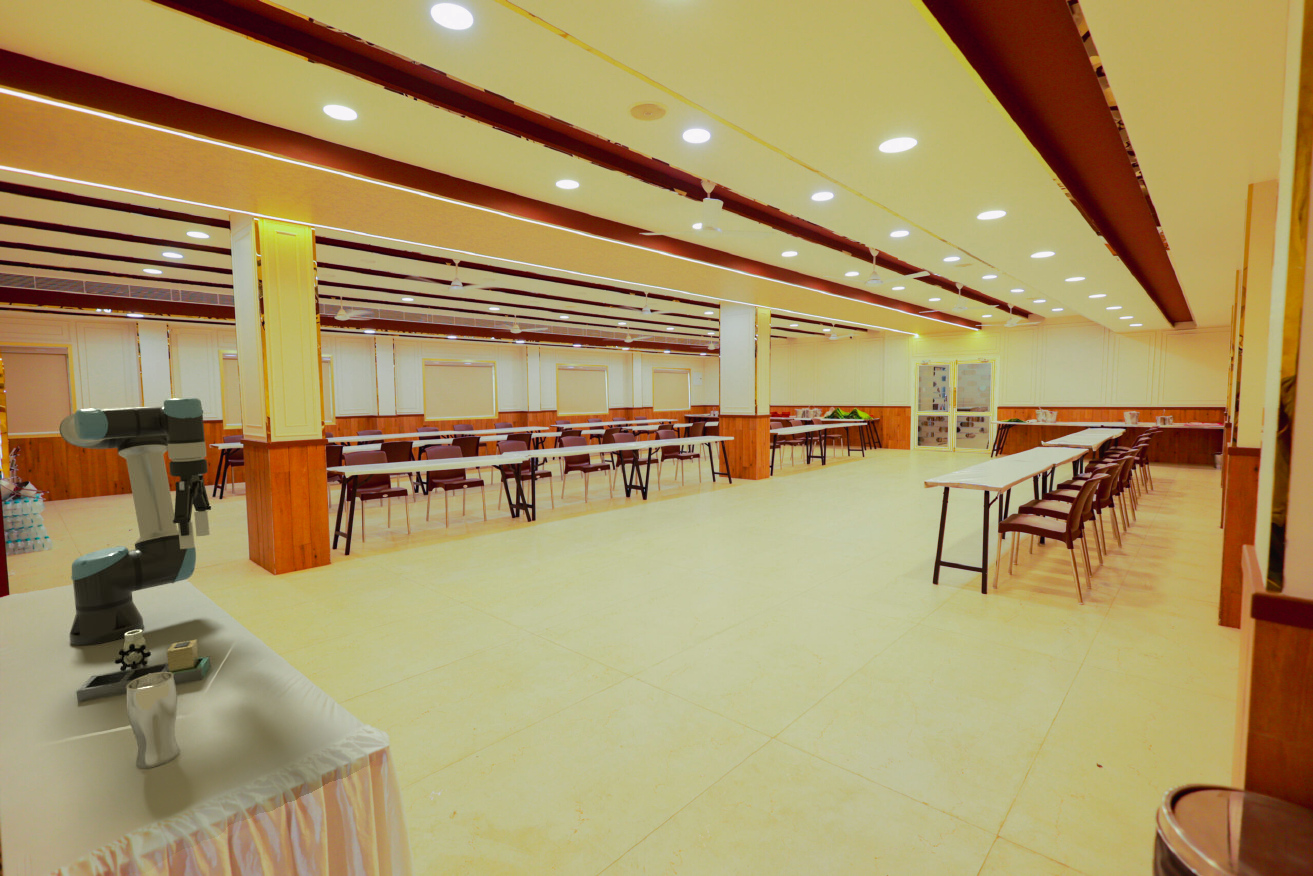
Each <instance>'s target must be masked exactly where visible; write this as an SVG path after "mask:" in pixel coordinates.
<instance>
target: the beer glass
mask: <svg viewBox="0 0 1313 876" xmlns="http://www.w3.org/2000/svg"><path fill="white" fill-rule="evenodd" d="M126 688H127V694H126V711H127V717H128V721H129V724H130V727H131V729H132V732H133V735H134V738H135V741H136V745H137V755H136V761H135V762H136V763H135V765H136V767H137V768H139V769H142V770H143V769H145V770H146V769H152V768H155V767H160V766H162V765H164V764H167V763H168V762H170V761H172V760H173V759H175V758H176V757H177V756H179V754H180V747H179V745H178V742H177V740H176V720H177V713H178V692H177V685H175V681H174V675H173V673H171V672H157V673H152V674H148V675H145V676H142V677H139V678H137V679H135V680H133V681H131V682H130V683H129V684H128V685H127V687H126Z"/></svg>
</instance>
